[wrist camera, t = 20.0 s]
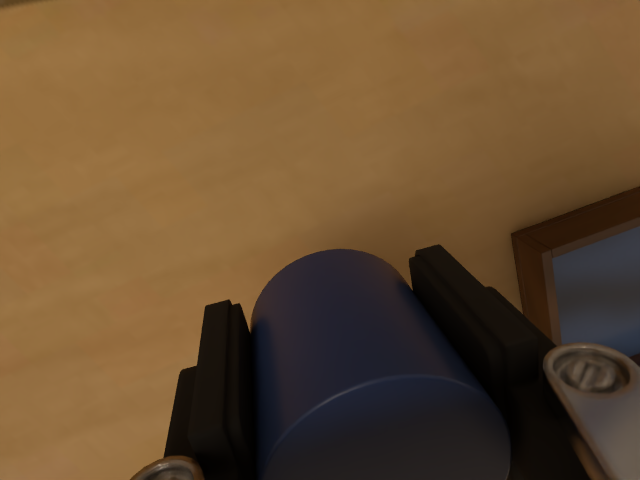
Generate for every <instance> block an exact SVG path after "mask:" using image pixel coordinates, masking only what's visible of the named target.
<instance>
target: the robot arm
mask: <svg viewBox="0 0 640 480" xmlns="http://www.w3.org/2000/svg"><path fill="white" fill-rule="evenodd" d="M409 267H410V274H411V281H412V288H413V292H414V293H415V295H416V296H417V297H418V299H419V300H420V302H421V303H422V304H423V306H424V307H425V308H426V310H427V311H428V313H429V314H430V315H431V317H432V318H433V319H434V321H435V322H436V323H437V325H438V326H439V328H440V329H441V330H442V332H443V333H444V334H445V336H446V337H447V338H448V340H449V341H450V343H451V344H452V345H453V347H454V348H455V349H456V351H457V352H458V354H459V355H460V356H461V358H462V359H463V360H464V362H465V363H466V364H467V366H468V367H469V369H470V370H471V371H472V373H473V374H474V375H475V377H476V378H477V379H478V381H479V382H480V384H481V385H482V386H483V388H484V389H485V390H486V392H487V393H488V394H489V396H490V397H491V399H492V400H493V401H494V403H495V404H496V405H497V407H498V408H499V410H500V411H501V413H502V415H503V416H504V418H505V420H506V422H507V425H508V428H509V431H510V436H511V443H512V460H511V465H510V470H509V473H508V476H507V479H506V480H640V367H639V366H638V365H637V364H636V363H635V362H634V361H632V360H631V359H630V358H629V357H628V356H626V355H625V354H623V353H621V352H619V351H617V350H615V349H613V348H610V347H607V346H604V345H600V344H595V343H587V342H575V343H567V344H563V345H559V346H557V345H556V344H554V343H553V342H552V341H551V340H550V339H549V338H548V337H547V336H546V335H545V334H544V333H542V332H541V331H540V330H539V329H538V328H537V327H536V326H535V325H534V324H533V323H532V322H531V321H529V320H528V319H527V318H526V317H525V316H524V315H523V314H522V313H521V312H520V311H519V310H517V309H516V308H515V307H514V306H513V305H512V304H511V303H510V302H509V301H508V300H507V299H506V298H504V297H503V296H502V295H501V294H500V293H499V292H498V291H497V290H496V289H494V288H493V287H484V286H483V285H482V284H481V283H480V282H479V281H478V280H477V279H476V278H475V277H474V276H473V275H471V274H470V273H469V272H468V271H467V270H466V269H465V268H464V267H463V266H462V265H461V264H460V263H459V262H458V261H457V260H456V259H455V258H454V257H453V256H452V255H450V254H449V253H448V252H447V251H446V250H445V249H444V248H443V247H442V246H441V245H439V244H438V245H434V246H431V247H427V248H423V249H419V250H416V252H415V257H412V258H410V259H409ZM130 480H256V468H255V442H254V416H253V390H252V364H251V337H250V332H249V329H248V325H247V322H246V319H245V316H244V313H243V310H242V307H241V305H240V303H238V304H234V305H232V303H231V301H230V300H225V301H222V302H218V303H214V304H210V305H206V306H205V311H204V318H203V326H202V333H201V340H200V347H199V355H198V362H197V366H194V367H190V368H186V369H183V370H182V371H181V372H180V375H179V379H178V384H177V389H176V395H175V400H174V405H173V410H172V416H171V421H170V426H169V432H168V437H167V442H166V448H165V453H164V458H163V459H159V460H157V461H155V462H153V463H151V464H149V465H147V466H146V467H144V468H143V469H141V470H140V471H139V472H138V473H136V474H135V475H134V476H133V477H132V478H131V479H130Z"/></svg>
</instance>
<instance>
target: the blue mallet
mask: <svg viewBox="0 0 640 480" xmlns="http://www.w3.org/2000/svg"><path fill="white" fill-rule="evenodd" d="M250 337H251V364H252V390H253V416H254V442H255V468H256V480H506V479H507V476H508V473H509V470H510V465H511V460H512V443H511V436H510V431H509V428H508V425H507V422H506V420H505V418H504V416H503V415H502V413H501V411H500V410H499V408H498V407H497V405H496V404H495V403H494V401H493V400H492V399H491V397H490V396H489V394H488V393H487V392H486V390H485V389H484V388H483V386H482V385H481V384H480V382H479V381H478V379H477V378H476V377H475V375H474V374H473V373H472V371H471V370H470V369H469V367H468V366H467V364H466V363H465V362H464V360H463V359H462V358H461V356H460V355H459V354H458V352H457V351H456V349H455V348H454V347H453V345H452V344H451V343H450V341H449V340H448V338H447V337H446V336H445V334H444V333H443V332H442V330H441V329H440V328H439V326H438V325H437V323H436V322H435V321H434V319H433V318H432V317H431V315H430V314H429V313H428V311H427V310H426V308H425V307H424V306H423V304H422V303H421V302H420V300H419V299H418V297H417V296H416V295H415V293H414V292H413V291H412V289H411V288H410V287H409V285H408V284H407V282H406V281H405V280H404V278H403V277H402V276H401V275H400V273H399V272H398V271H397V270H396V269H395V268H393V267H392V266H391V265H390V264H389V263H387V262H386V261H384V260H383V259H381V258H379V257H376V256H374V255H372V254H369V253H366V252H363V251H357V250H351V249H333V250H325V251H320V252H316V253H313V254H310V255H307V256H304V257H302V258H300V259H298V260H296V261H294V262H292V263H291V264H289V265H288V266H286V267H285V268H283V269H282V270H281V271H280V272H278V273H277V274H276V275H275V276H274V277H273V278H272V279H271V280H270V281H269V282H268V284H267V285H266V286H265V288H264V289H263V290H262V292H261V294H260V296H259V297H258V299H257V301H256V304H255V306H254V309H253V313H252V317H251V325H250Z"/></svg>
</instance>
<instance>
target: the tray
mask: <svg viewBox="0 0 640 480" xmlns="http://www.w3.org/2000/svg"><path fill="white" fill-rule="evenodd" d="M511 236H512V242H513V249H514V255H515V261H516V268H517V274H518V281H519V287H520V294H521V300H522V307H523V313H524V316H525V317H526V318H527V319H528V320H529V321H531V322H532V323H533V324H534V325H535V326H536V327H537V328H538V329H539V330H540V331H541V332H542V333H544V334H545V335H546V336H547V337H548V338H549V339H550V340H551V341H552V342H553V343H554V344H556V345H557V346H559V345H563V344H567V343H575V342H587V343H595V344H600V345H604V346H607V347H610V348H613V349H615V350H617V351H619V352H621V353H623V354H625V355H626V356H628V357H629V358H630V359H631V360H632V361H634V362H635V363H636V364H637V365H638V366H639V367H640V187H638V188H635V189H632V190H629V191H627V192H624V193H621V194H619V195H616V196H613V197H610V198H608V199H605V200H602V201H599V202H597V203H594V204H591V205H589V206H586V207H583V208H580V209H578V210H575V211H572V212H570V213H567V214H564V215H561V216H559V217H556V218H553V219H550V220H548V221H545V222H542V223H540V224H537V225H534V226H531V227H529V228H526V229H523V230H521V231H518V232H515V233H512V234H511Z"/></svg>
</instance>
